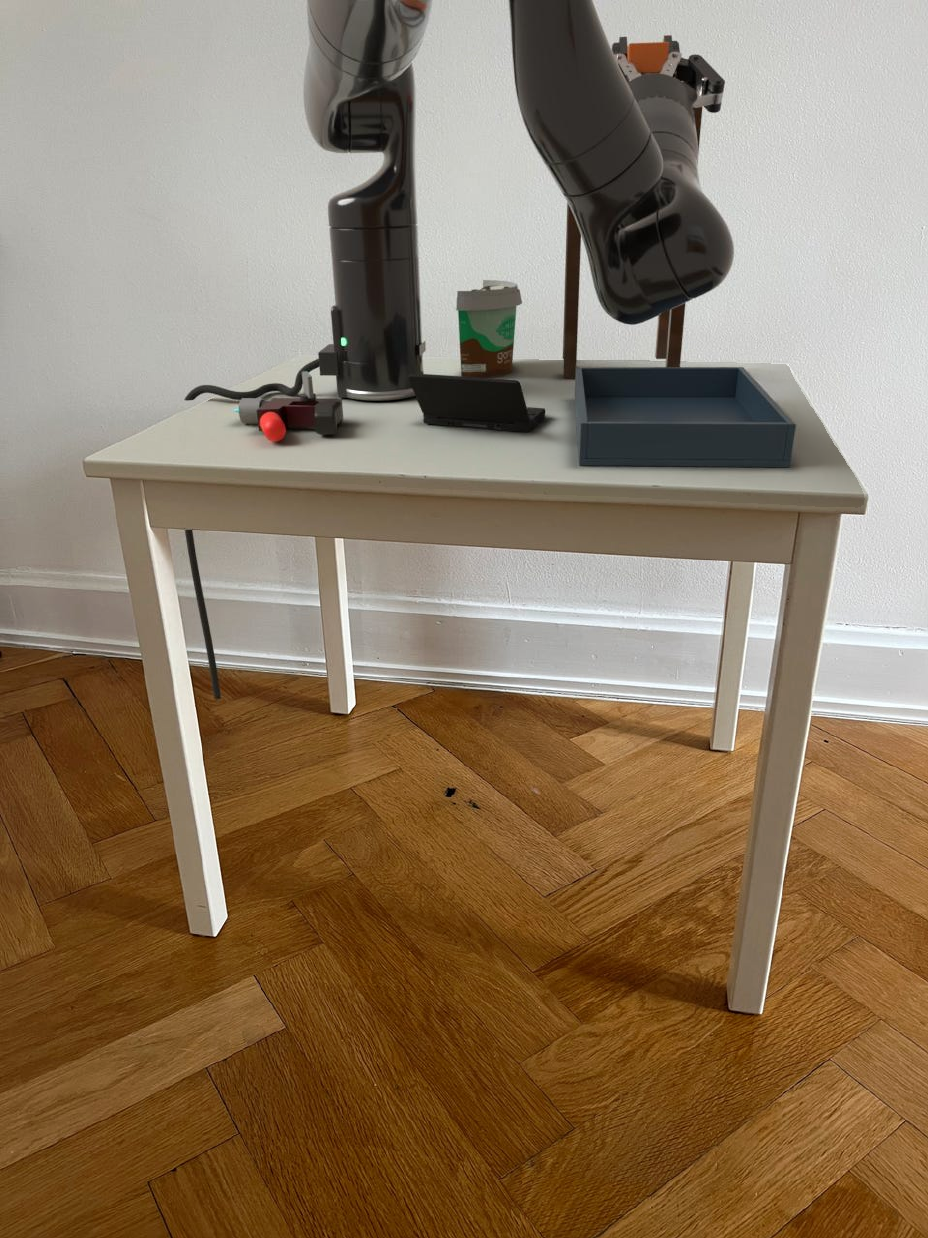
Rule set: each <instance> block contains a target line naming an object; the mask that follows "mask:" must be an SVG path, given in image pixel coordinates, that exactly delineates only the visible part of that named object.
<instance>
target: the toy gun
mask: <svg viewBox="0 0 928 1238" xmlns="http://www.w3.org/2000/svg"><path fill="white" fill-rule="evenodd" d="M302 380H303V385H302V389H303V393H300V394H299V397H273V398H271V399H270V400H266V399H265V398H262V397H258V398H242V399H241V400H239V402H238V408H236V409H233V410H232V411H233V412H235V413H238V416H239V420H240V422H241V423H242V424H244V425H245V424H247V425H248V424H249V425H250V424H254V425H258V431H259V432H262V433H263V435H264V437H265V438H266V439H267V440H269V441H271V442H279V441H281V440H283V439H284V438H285V436H286V433H287V428H288V429H289V428H291V429H293V428H294V429H315V433H316V434H317V435H325V436H326V435H328V436H329V435H331V436H333V435H336V434H337V433H338V425H339V424H342V423H343V422H344V421H345V420H344V410H343V409H344V408H343V407H344V406H343V400H342V399H341V398H327V397H326V398H323V397H319V398H318V397H317V395H316V393H315V392H314V385H313V376H312V375H311V374H310V372H309V373H308V372H307V371H304V372H302Z"/></svg>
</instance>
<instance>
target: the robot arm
mask: <svg viewBox="0 0 928 1238" xmlns="http://www.w3.org/2000/svg"><path fill="white" fill-rule="evenodd" d="M432 6H433V0H306V13H307V29H308V42H309V43H308V50H307V55H306V60H305V67H304V74H303V88H302V89H303V91H302V93H303V96H302V97H303V98H302V99H303V107H304V116H305V120H306V124H307V127H308V130H309V132H310V134H311V137H312V139H313V140H314V142H315V143H316V144H317V146H318V147H320V148H321V149H322V150H324V151H325V152H329V153H335V154H378V153H380V154H383V161H382V164H381V166H380V168H379V169H378V170H377V171H376V172H375V174H373V175H372V176H371V177H370V178H368V179H367V180H365V181H364V182H362V183H361V184H359V185H357V186H355V187H352V188H350V189H347V190H345V191H342V192H340V193H338V194H335V195H334V196H332V197H331V198H330V199H329V201H328V202H327V203H328V204H327V220H328V226H329V231H328V232H329V241H330V242H329V243H330V252H331V253H330V254H331V267H332V281H333V290H334V291H333V292H334V293H333V294H334V305H332V306H331V308H330V319H331V320H330V321H331V332H332V333H331V334H332V343H329V344H327V345H326V346H325V347H323V348H322V349H320V350H319V351H318V352H317V355H318V358H316V359H314V360H312V361H310V362H308V363H307V364H305V365H304V366H303V367H301V368H300V369H299V370H298V372H297V374H296V376H295V381H294V385H293V386H292V387H289V386H287V385H286V384H283V383H278V382H273V383H272V382H271V383H267V384H262V385H261V386H259V387H258V388H256V389H254V390H249V391H236V390H231V389H227V388H224V387H222V386H221V387H220V386H217V385H213V384H201V385H199V386H196V387H194V388H193V389H191V390H190V391H189V392H188V393H187V395H186V396H185V398H184V401H194V400H196V398H197V397H199V396H201V395H203V394H213V395H216V396H220V397H222V398H223V397H224V398H225V399H226V398H227V399H231V400H235V401H240V400H241V399H242V398H261V397H262V396H264V395H265V394H267V393H271V392H280V393H282V394H283V395H286V396H289V397H294V396H296V395H298V394H299V393H300V392H301V390H302V389H303V380H302V372H304V371H307V372H308V373H309V374H310V373H311V372H312V371H314V370H316V369H318V368H319V375H320V376H327V377H332V376H333V377H334V376H335V380H336V392H337V398H346V399H347V398H348V399H352V400H359V401H371V402H372V401H373V402H374V401H377V402H378V401H379V402H380V401H396V400H403V399H408V398H413V397H416V396H415V394H414V391H413V389H412V386H411V384H410V381H409V375H410V374H412V373H416V374H425V371H424V357H423V354H424V353H425V352H426V351H427V349H426V346H427V345H426V340H424V341H423V329H422V308H421V307H422V305H421V303H422V302H421V277H420V251H419V250H420V249H419V228H418V227H419V226H418V207H417V180H416V178H417V177H416V124H417V123H416V121H417V119H416V113H417V104H416V103H417V99H416V98H417V97H416V95H417V93H416V80H415V79H416V78H415V70H414V66H413V61H414V60H415V58H416V56H417V55H418V53H419V50H420V48H421V45H422V43H423V40H424V37H425V34H426V30H427V27H428V24H429V21H430V18H431V17H430V16H431V13H432V8H433V7H432ZM508 10H509V13H508V14H509V23H510V41H511V43H510V44H511V55H512V69H513V80H514V87H515V94H516V100H517V104H518V108H519V112H520V115H521V119H522V122H523V125H524V127H525V130H526V133H527V135H528V137H529V139H530V141H531V144H532V145H533V147H534V149H535V150H536V152H537V154H538V155H539V157H540V158H541V160H542V162H543V163H544V165H545V167H546V169H547V171H548V172H549V174H550V175H551V177H552V179H553V180H554V182H555V183H556V185H557V187H558V189H559V190H560V192H561V194H562V196H563V197H564V198H565V200H566V203H567V202H568V204H569V206H570V208H571V210H572V213H573V215H574V217H575V220H576V222H577V225H578V228H579V231H580V233H581V241H582V243H583V246H584V250H585V253H586V256H587V261H588V265H589V270H590V275H591V280H592V283H593V284H592V285H593V288H594V291H595V294H596V297H597V300H598V303H599V304H600V306H601V308H602V309H603V311H604V312H605V314H607V315H608V316H609V317H611V318H612V319H613V320H615V321H616V322H619V323H621V324H624V325H630V326H635V325H639V324H642V323H645V322H648V321H650V320H652V319H654V318H656V317H658V315H660V314H662V313H665V312H667V311H669V310H671V309H673V308H675V307H677V306H680V305H682V304H684V303H686V304H687V303H689V302H690V301H692V300H694V299H697V298H699V297H701V296H704V295H706V294H707V293H710V292H712V291H713V290H715V289H716V288H718V287H719V286H720V285H721V284H722V283H723V282H724V281H725V280H726V278H727V277H728V275H729V274H730V272H731V270H732V266H733V262H734V259H735V245H734V240H733V236H732V234H731V230H730V228H729V226H728V224H727V222H726V221H725V219H724V217H723V216H722V214H721V213H720V211H719V209H718V208H717V207H716V206H715V204H714V203H713V202H712V201H711V200H710V198H709V197H707V195H706V194H705V193H704V192H703V190H702V187H701V183H700V176H699V175H700V174H699V166H698V165H697V161H698V162H699V154H698V141H697V133H696V126H695V118H694V113H695V110H696V108H698V107H702V108H704V109H705V110H706V111H707V112H708V113H712V114H715V113H716V114H717V113H720V111H721V108H722V102H723V97H724V90H725V85H726V80H725V79H724V78H723V77H722V76H721V75H720V74H719V73H718V71H716V70H715V69H714V68H713V67H712V66H711V64H709V62H708V61H707V60H705V58H704V57H703V56H702V55H700V54H691V55H689V56H688V58H684V57H683V53H681V50H680V43H679V42H678V40H673V35H671V34H669V35H668V34H667V35H666V34H665V35H663V38H662V39H663V40H662V42H669V51H668V60H665V62H664V64H663V67H662V70H661V72H657V73H650V74H644V73H638V71H637V69H636V68H635V66H634V64H633V62H632V61H628V60H627V47H628V37H627V36H619V37H618V42H613V43H612V44H611V45H610V42H609V40H608V38H607V35H606V32H605V30H604V28H603V25H602V22H601V19H600V17H599V15H598V12H597V9H596V6H595V4H594V1H593V0H508ZM683 82H685V83H683ZM193 531H194V530H193V529H192V530H185V529H184V534H185V540H186V548H187V553H188V559H189V565H190V571H191V577H192V583H193V587H194V592H195V597H196V603H197V609H198V613H199V617H200V623H201V628H202V629H201V630H202V634H203V638H204V639H203V640H204V644H205V650H206V655H207V661H208V666H209V673H210V679H211V685H212V686H211V687H212V692H213V699H214V700H217V701H218V700H220V699H221V698H222V695H221V687H220V681H219V675H218V674H219V673H218V668H217V661H216V656H215V650H214V644H213V638H212V633H211V628H210V623H209V617H208V612H207V608H206V602H205V597H204V591H203V587H202V581H201V575H200V570H199V564H198V558H197V552H196V545H195V539H194V538H195V537H194V532H193Z"/></svg>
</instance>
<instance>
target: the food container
mask: <svg viewBox="0 0 928 1238" xmlns="http://www.w3.org/2000/svg"><path fill="white" fill-rule="evenodd" d="M456 294H457V295H456V309H455V310H456V311H457V316H458V335H459V355H460V356H459V357H460V376H463V377H478V378H495V377H501V376H505V375H508V374H510V373H512V371H513V359H514V345H515V334H516V333H515V332H516V320H517V306H520V305H522V304H523V300H522V294H521V290H520V288H519V287H518V284H517V282H514V281H507V280H497V279H495V280H494V279H482V288H480V289H477V288H476V289H471V290H457V292H456Z"/></svg>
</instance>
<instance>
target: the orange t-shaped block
mask: <svg viewBox="0 0 928 1238" xmlns="http://www.w3.org/2000/svg"><path fill="white" fill-rule="evenodd" d="M668 51H669V42H663V41H655V42H630V43H628V44H627V60H628V61H632V62H633V64H634V66H635V68H636V69H637V71H638V73H644V74H650V73H657V72H661V70H662V67H663V64H664V62H665V60H668Z"/></svg>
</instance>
